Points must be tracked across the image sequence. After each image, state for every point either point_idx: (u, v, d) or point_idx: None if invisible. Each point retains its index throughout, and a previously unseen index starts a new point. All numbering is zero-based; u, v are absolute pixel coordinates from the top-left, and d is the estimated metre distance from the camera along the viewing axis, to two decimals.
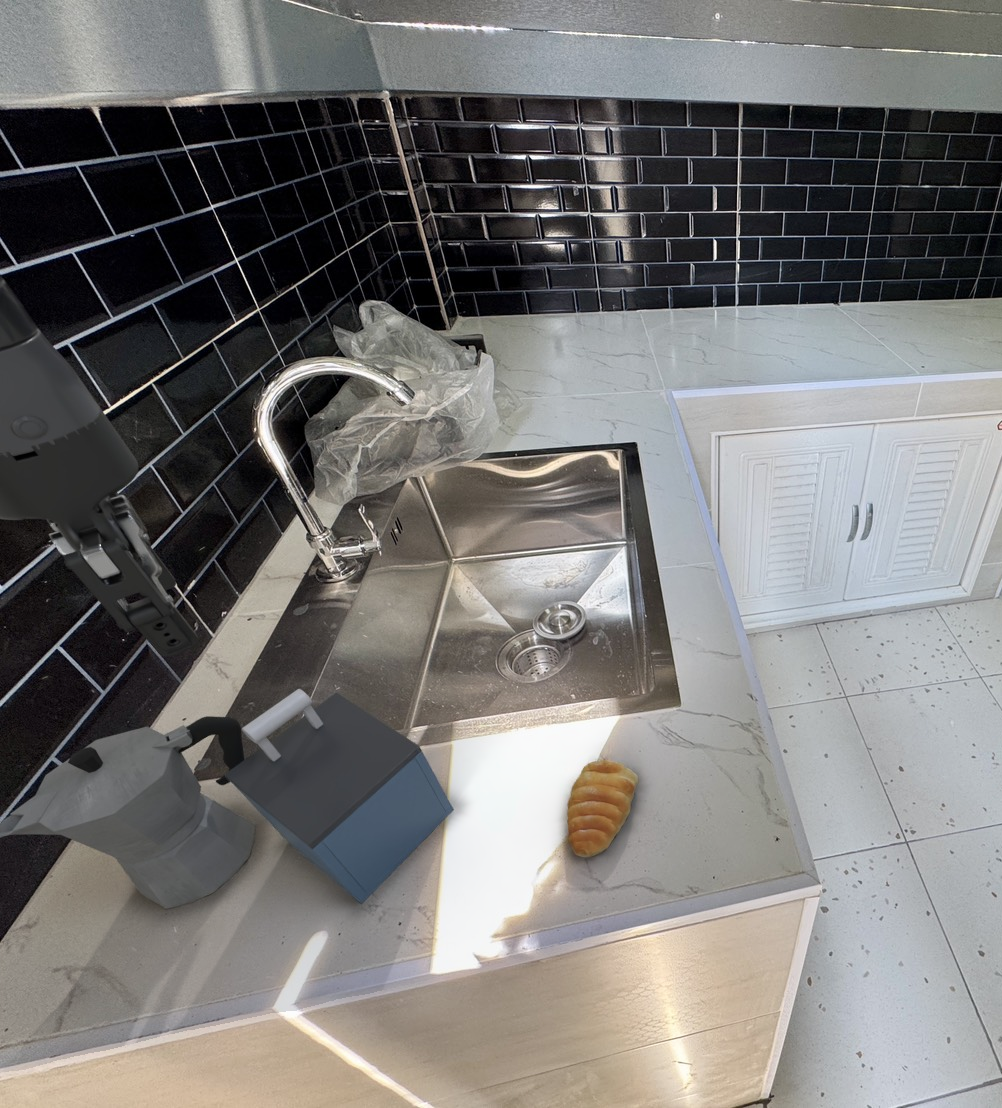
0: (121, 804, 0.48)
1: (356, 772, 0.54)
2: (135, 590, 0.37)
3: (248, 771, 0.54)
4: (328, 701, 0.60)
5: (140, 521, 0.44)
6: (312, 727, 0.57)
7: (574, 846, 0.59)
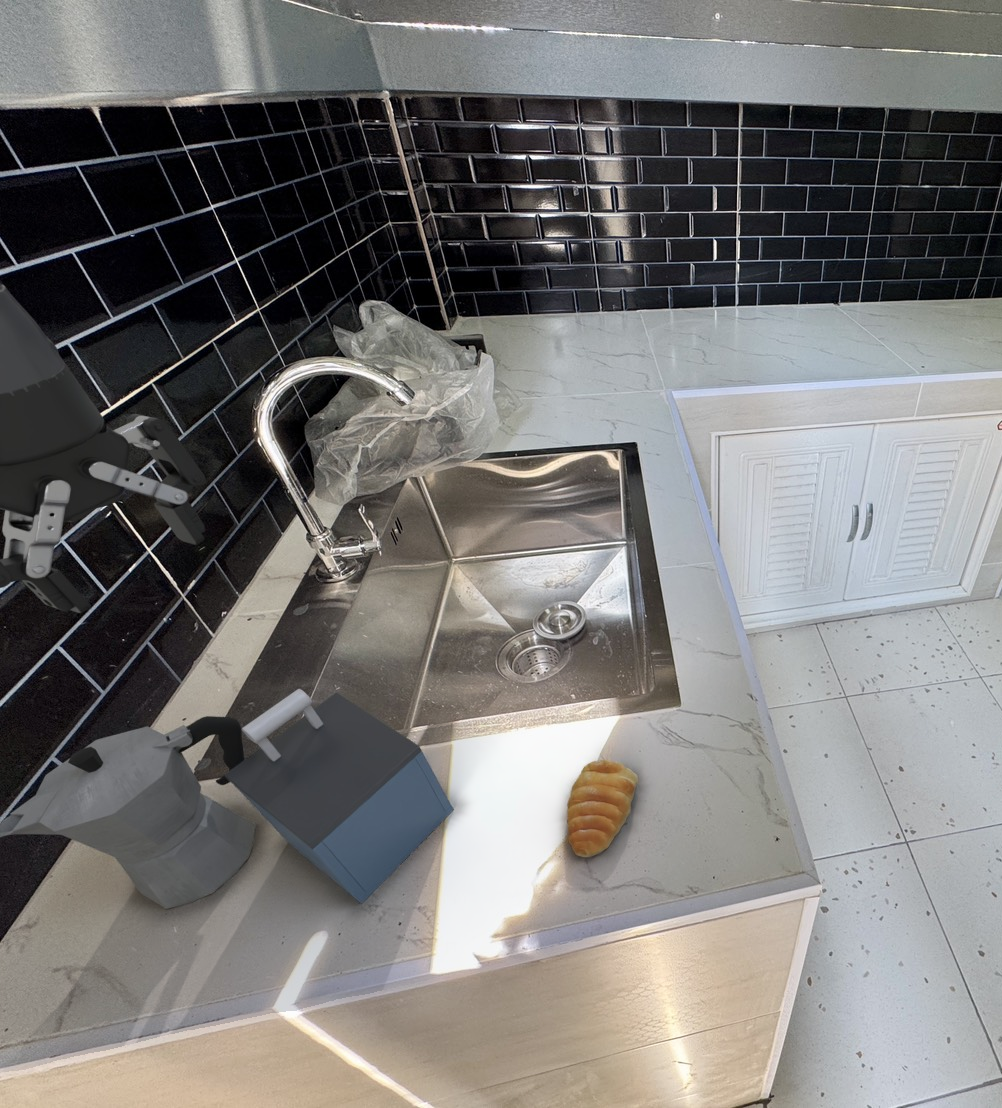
0: (121, 804, 0.48)
1: (356, 772, 0.54)
2: None
3: (248, 771, 0.54)
4: (328, 701, 0.60)
5: (140, 486, 0.45)
6: (312, 727, 0.57)
7: (574, 846, 0.59)
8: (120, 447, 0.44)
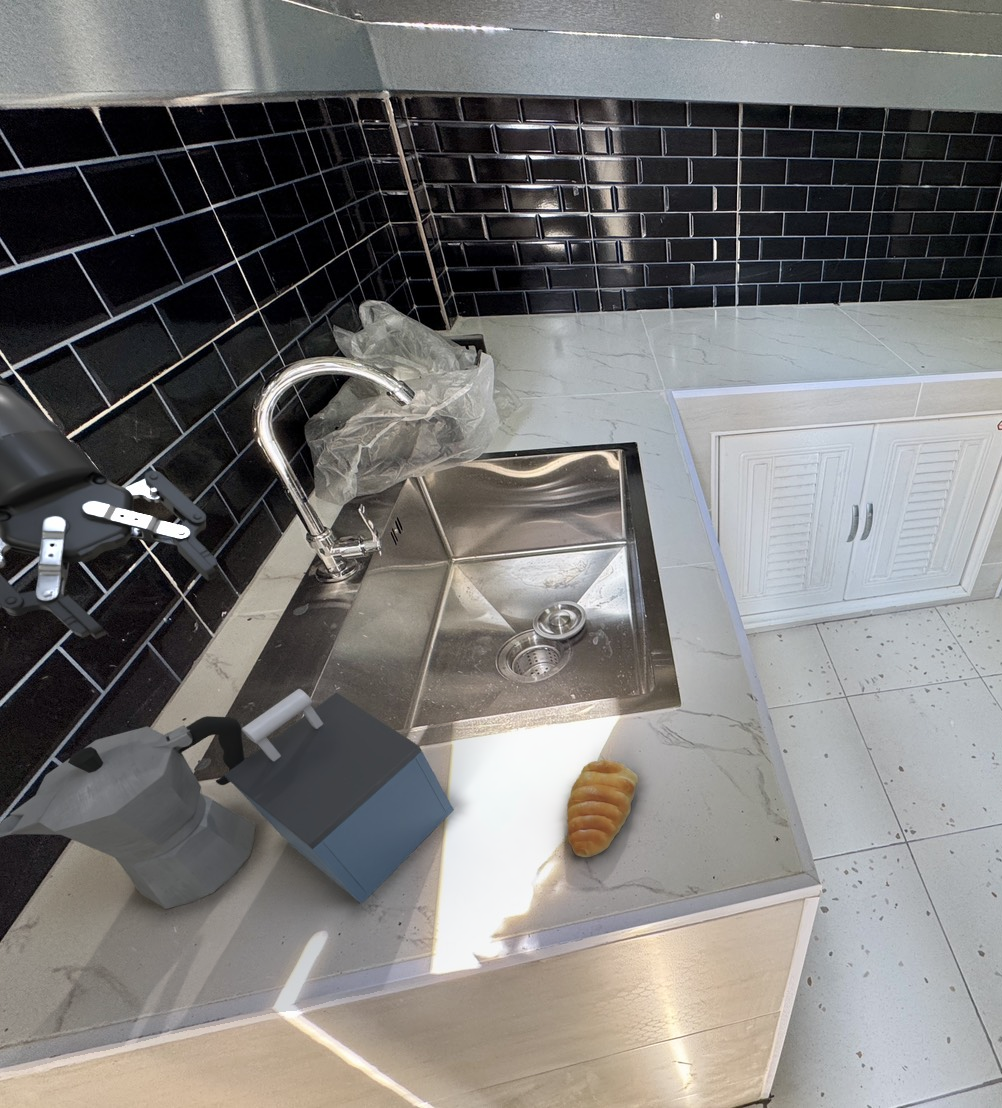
0: (121, 804, 0.48)
1: (356, 772, 0.54)
2: None
3: (248, 771, 0.54)
4: (328, 701, 0.60)
5: (135, 521, 0.52)
6: (312, 727, 0.57)
7: (574, 846, 0.59)
8: (119, 494, 0.53)
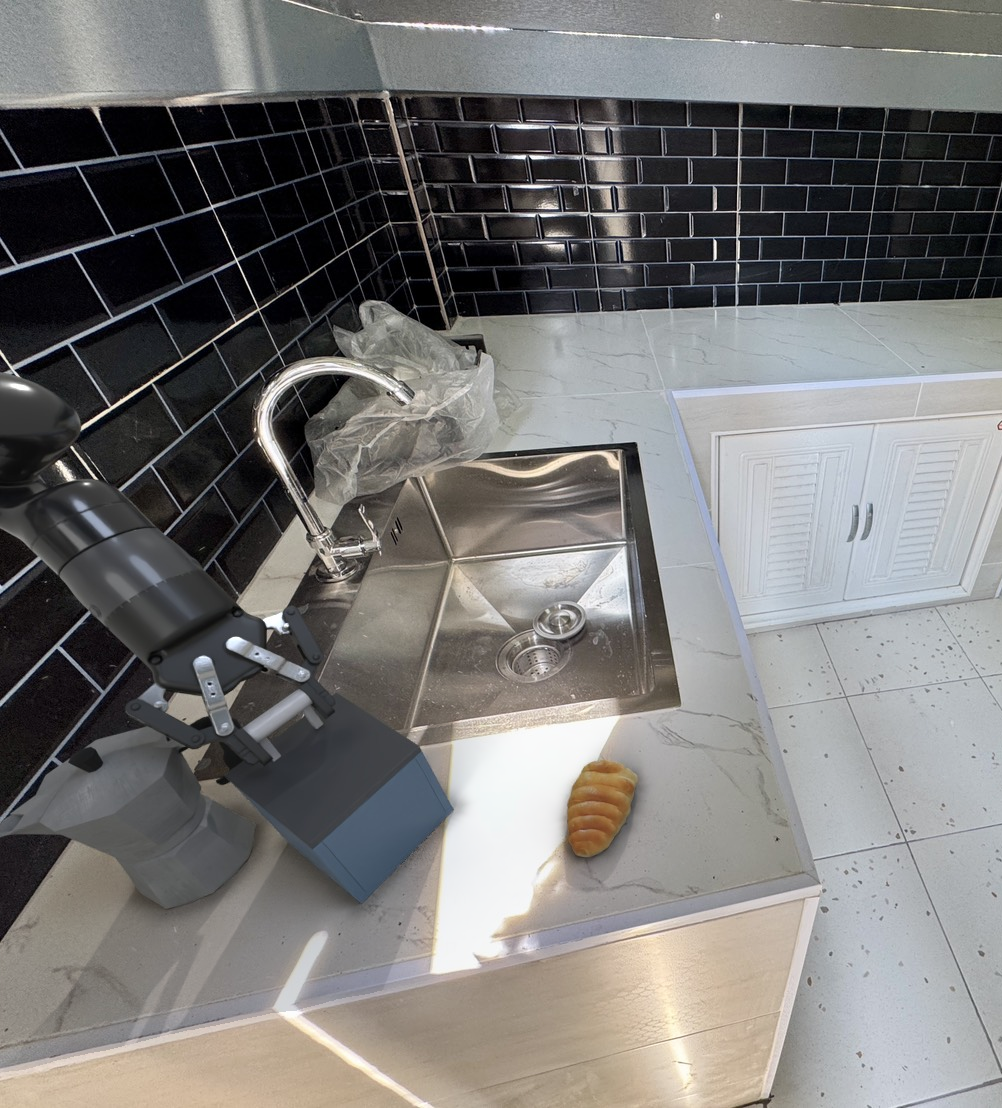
0: (121, 804, 0.48)
1: (356, 772, 0.54)
2: (162, 732, 0.48)
3: (248, 771, 0.54)
4: None
5: (266, 660, 0.53)
6: (312, 727, 0.57)
7: (574, 846, 0.59)
8: (255, 625, 0.54)
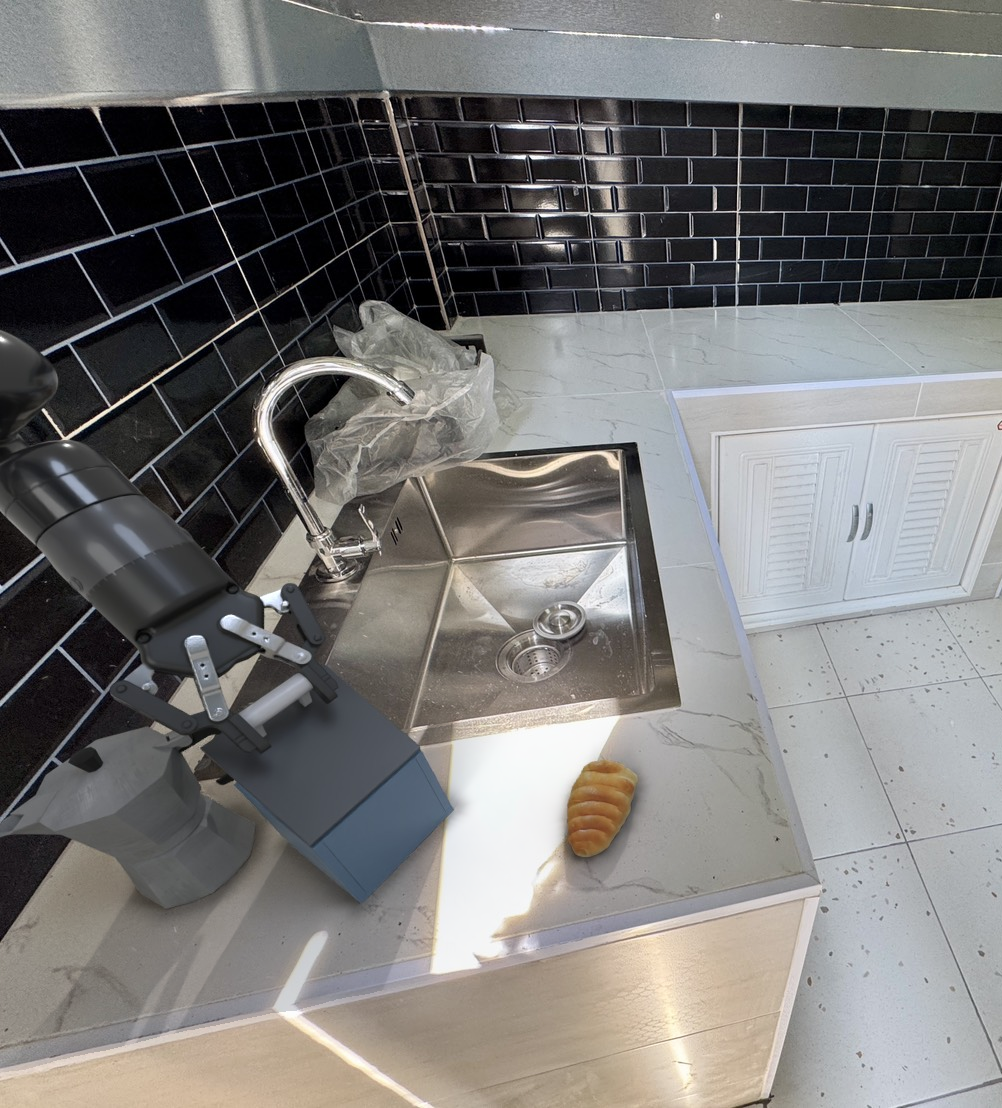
0: (121, 804, 0.48)
1: (355, 768, 0.53)
2: (151, 717, 0.45)
3: (229, 747, 0.50)
4: None
5: (264, 640, 0.49)
6: (299, 703, 0.54)
7: (574, 846, 0.59)
8: (252, 603, 0.50)
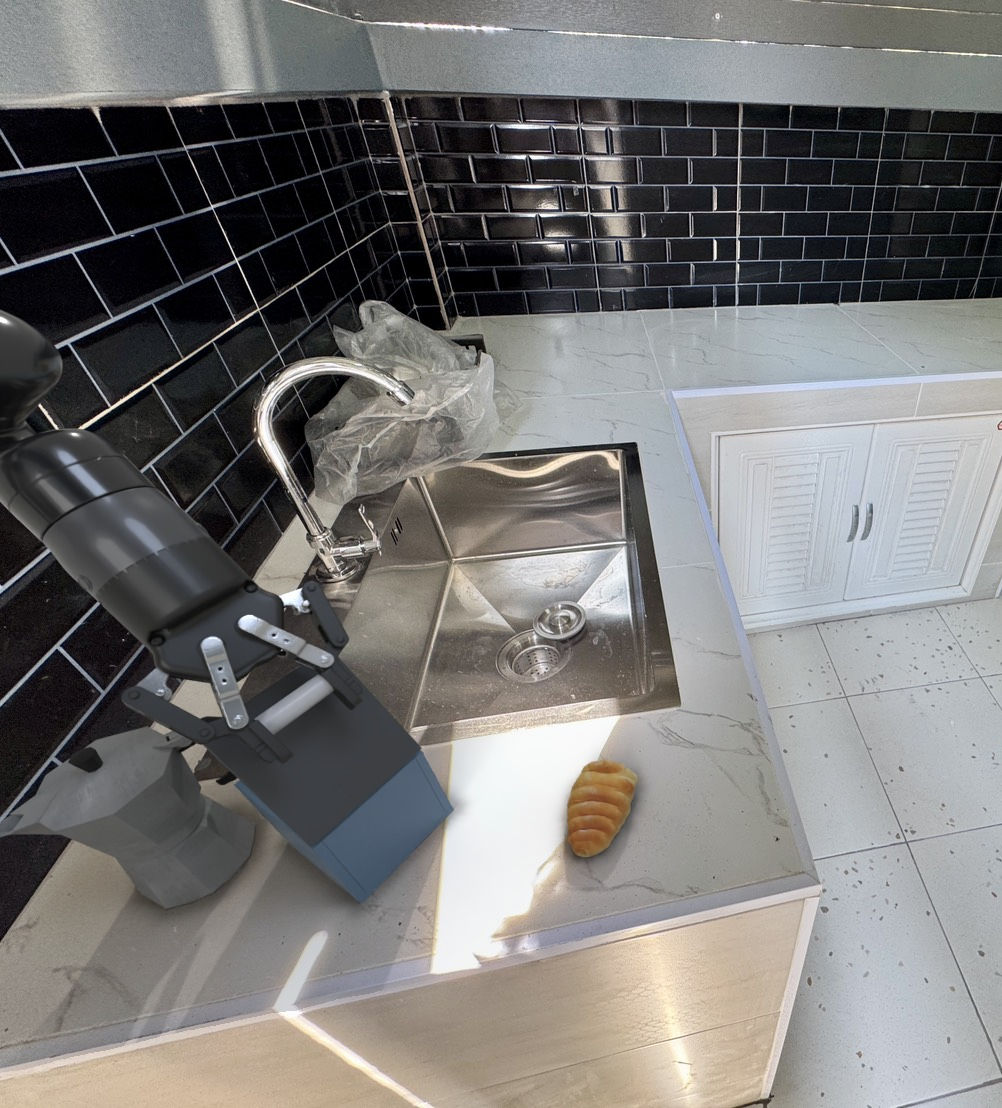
0: (121, 804, 0.48)
1: (357, 767, 0.52)
2: (166, 725, 0.41)
3: (228, 737, 0.47)
4: None
5: (284, 642, 0.46)
6: None
7: (574, 846, 0.59)
8: (271, 602, 0.47)
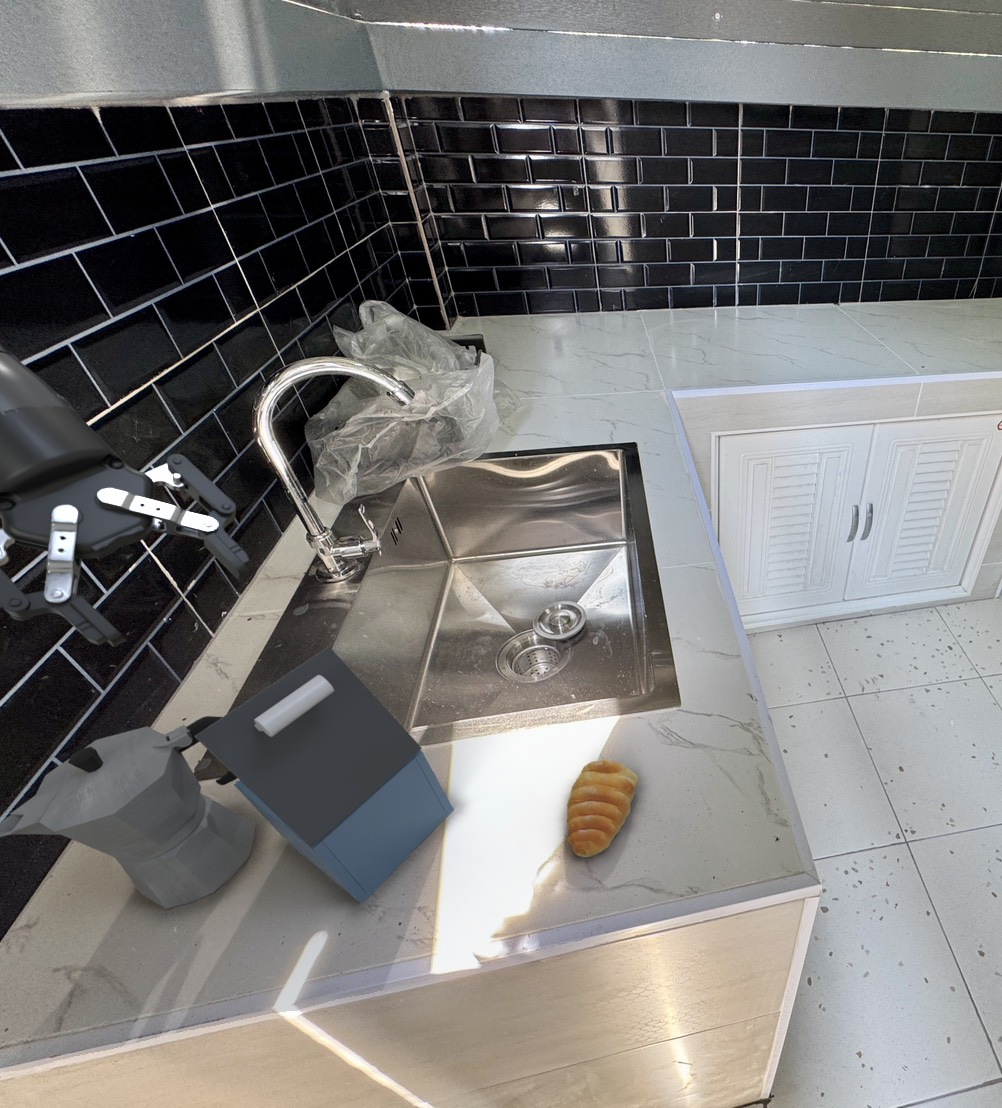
0: (121, 804, 0.48)
1: (357, 767, 0.52)
2: None
3: (228, 737, 0.47)
4: (319, 657, 0.52)
5: (157, 511, 0.45)
6: None
7: (574, 846, 0.59)
8: (138, 480, 0.46)
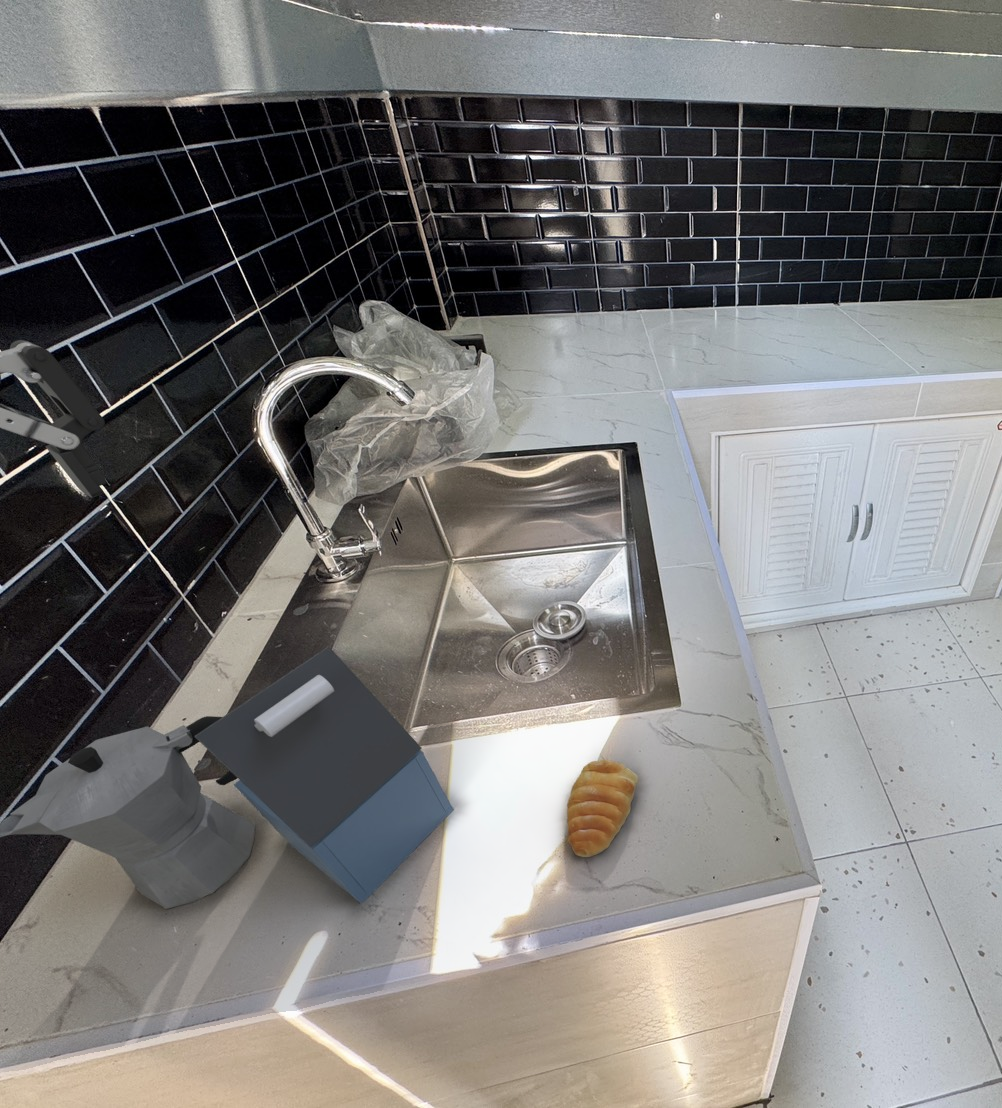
0: (121, 804, 0.48)
1: (357, 767, 0.52)
2: None
3: (228, 737, 0.47)
4: (319, 657, 0.52)
5: (8, 423, 0.38)
6: None
7: (574, 846, 0.59)
8: None
